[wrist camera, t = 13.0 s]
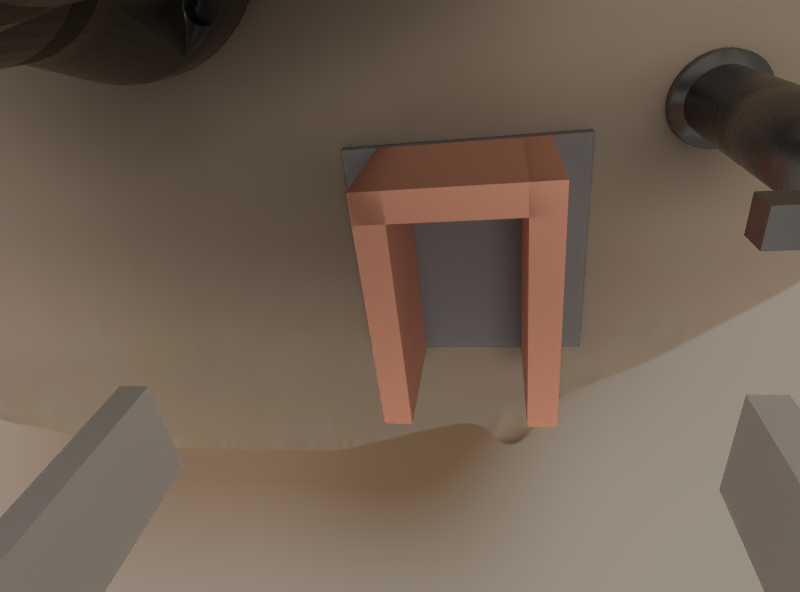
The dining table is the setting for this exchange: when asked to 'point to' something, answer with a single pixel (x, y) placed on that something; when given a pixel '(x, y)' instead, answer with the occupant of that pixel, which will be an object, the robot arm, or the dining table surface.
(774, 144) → the stand
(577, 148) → the mat
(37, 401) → the dining table surface
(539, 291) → the c link
